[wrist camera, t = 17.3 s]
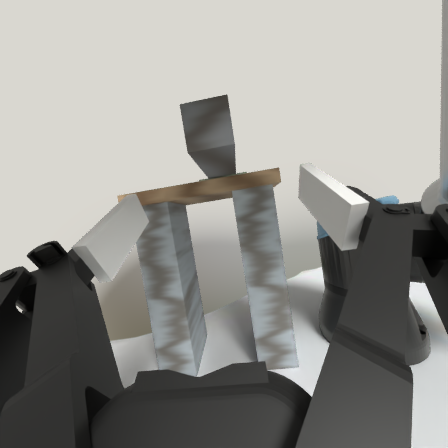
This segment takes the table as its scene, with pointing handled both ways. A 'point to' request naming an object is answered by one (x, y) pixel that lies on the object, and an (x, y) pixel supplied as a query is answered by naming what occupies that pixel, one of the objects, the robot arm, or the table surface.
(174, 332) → the bench
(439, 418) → the table surface
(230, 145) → the dark grey bar
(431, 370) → the table surface
